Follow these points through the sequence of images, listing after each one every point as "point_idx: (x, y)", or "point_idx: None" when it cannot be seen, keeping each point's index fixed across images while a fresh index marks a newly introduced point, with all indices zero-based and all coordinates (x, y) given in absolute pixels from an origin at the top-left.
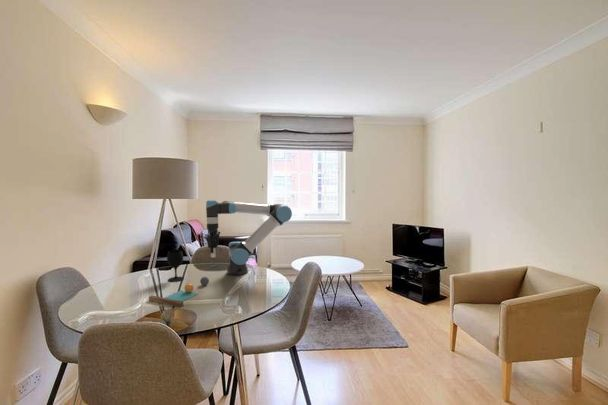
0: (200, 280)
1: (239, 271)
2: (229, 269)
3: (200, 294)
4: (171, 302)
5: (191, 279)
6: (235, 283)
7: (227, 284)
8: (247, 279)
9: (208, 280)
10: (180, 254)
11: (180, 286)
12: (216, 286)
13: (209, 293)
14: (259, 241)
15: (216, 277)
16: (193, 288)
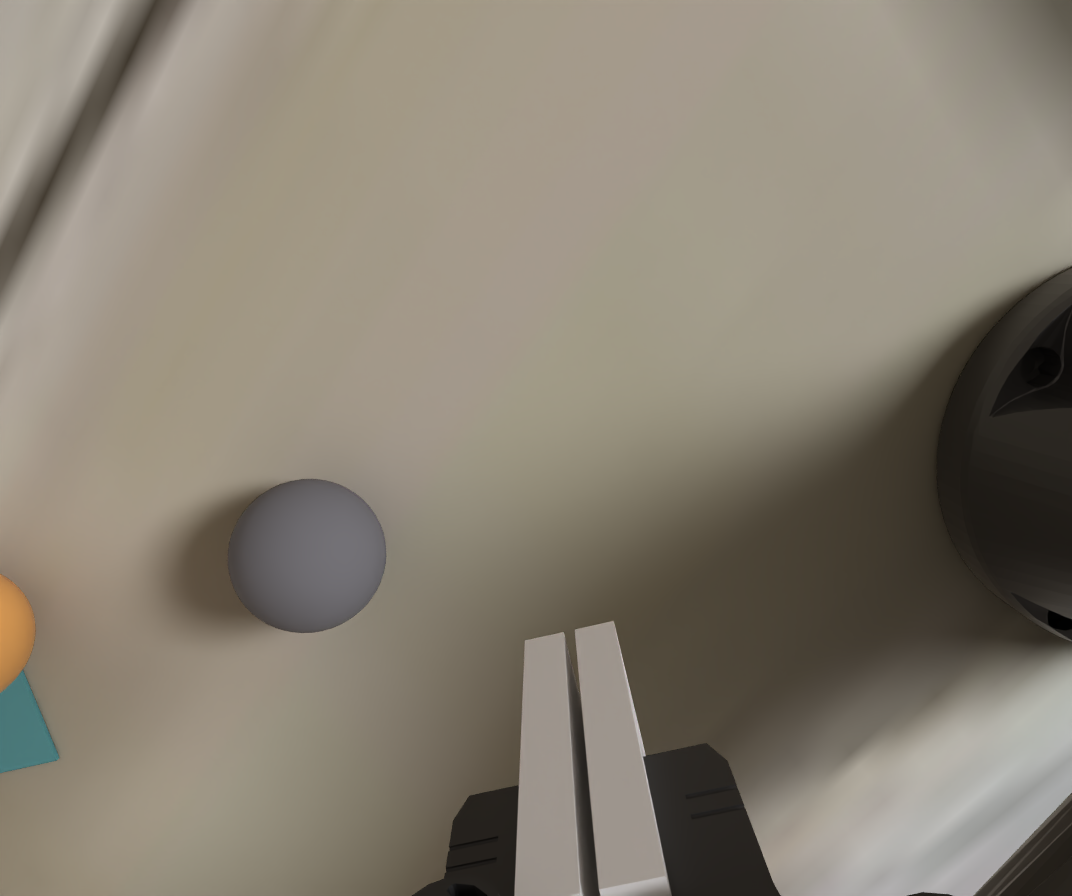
0: (231, 536)
1: (1057, 633)
2: (1005, 458)
3: (75, 793)
4: None
5: (338, 66)
6: None
7: None
8: (910, 851)
9: (345, 621)
10: None
11: (13, 254)
12: (410, 722)
13: (181, 855)
14: None
15: (698, 368)
16: (5, 688)
